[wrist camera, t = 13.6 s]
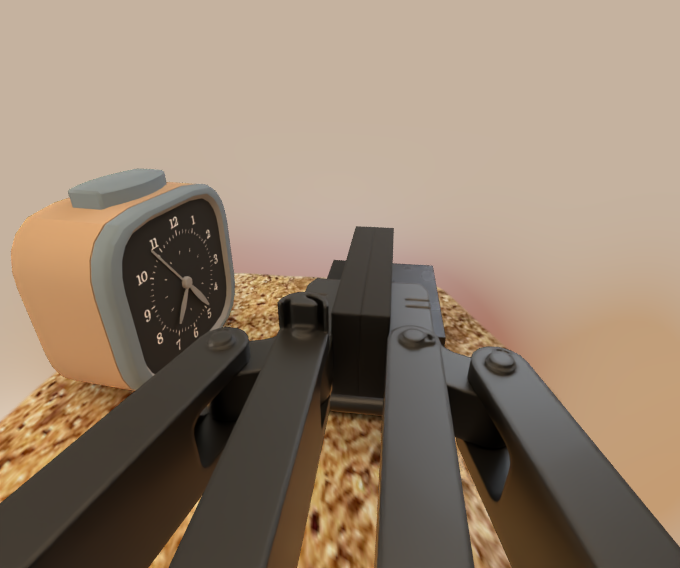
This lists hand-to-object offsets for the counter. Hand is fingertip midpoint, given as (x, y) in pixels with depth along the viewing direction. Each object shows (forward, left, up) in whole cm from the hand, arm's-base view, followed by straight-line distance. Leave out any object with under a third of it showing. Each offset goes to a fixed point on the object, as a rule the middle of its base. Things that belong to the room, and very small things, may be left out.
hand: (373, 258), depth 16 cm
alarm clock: (+31, -11, -24) cm, 41 cm away
